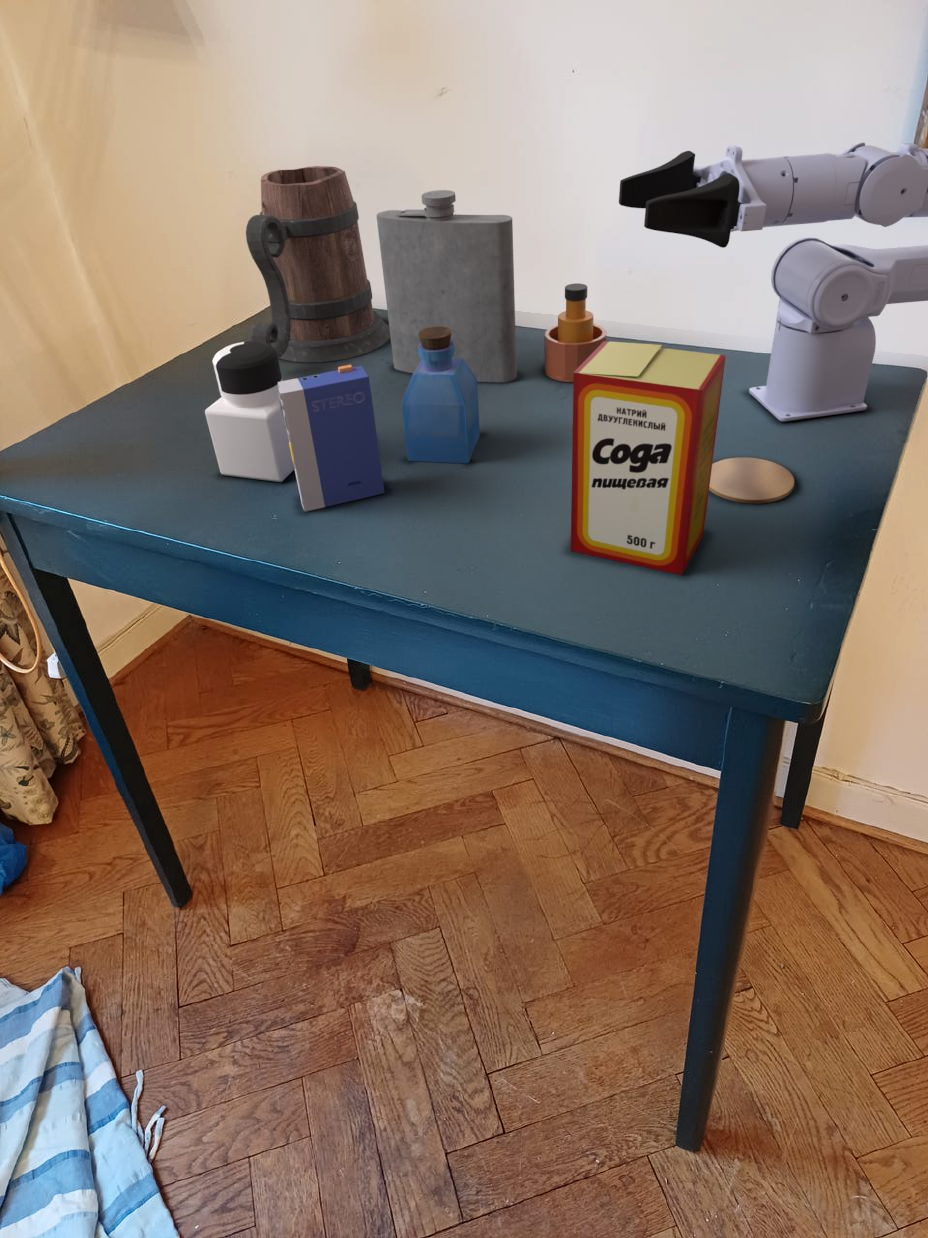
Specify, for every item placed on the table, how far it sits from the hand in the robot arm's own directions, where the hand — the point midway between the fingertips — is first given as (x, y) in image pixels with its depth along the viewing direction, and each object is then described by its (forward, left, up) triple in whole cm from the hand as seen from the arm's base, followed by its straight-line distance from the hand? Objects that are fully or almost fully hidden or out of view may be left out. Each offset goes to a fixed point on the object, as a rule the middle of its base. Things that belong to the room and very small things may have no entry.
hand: (632, 203), depth 79 cm
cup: (+1, -16, -22) cm, 27 cm away
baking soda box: (+6, +21, -22) cm, 31 cm away
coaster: (-7, +14, -22) cm, 27 cm away
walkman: (+30, +6, -22) cm, 37 cm away
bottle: (+1, -16, -21) cm, 26 cm away
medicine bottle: (+37, -3, -22) cm, 43 cm away
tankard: (+30, -34, -22) cm, 50 cm away
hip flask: (+15, -20, -22) cm, 33 cm away
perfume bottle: (+19, -1, -22) cm, 29 cm away
